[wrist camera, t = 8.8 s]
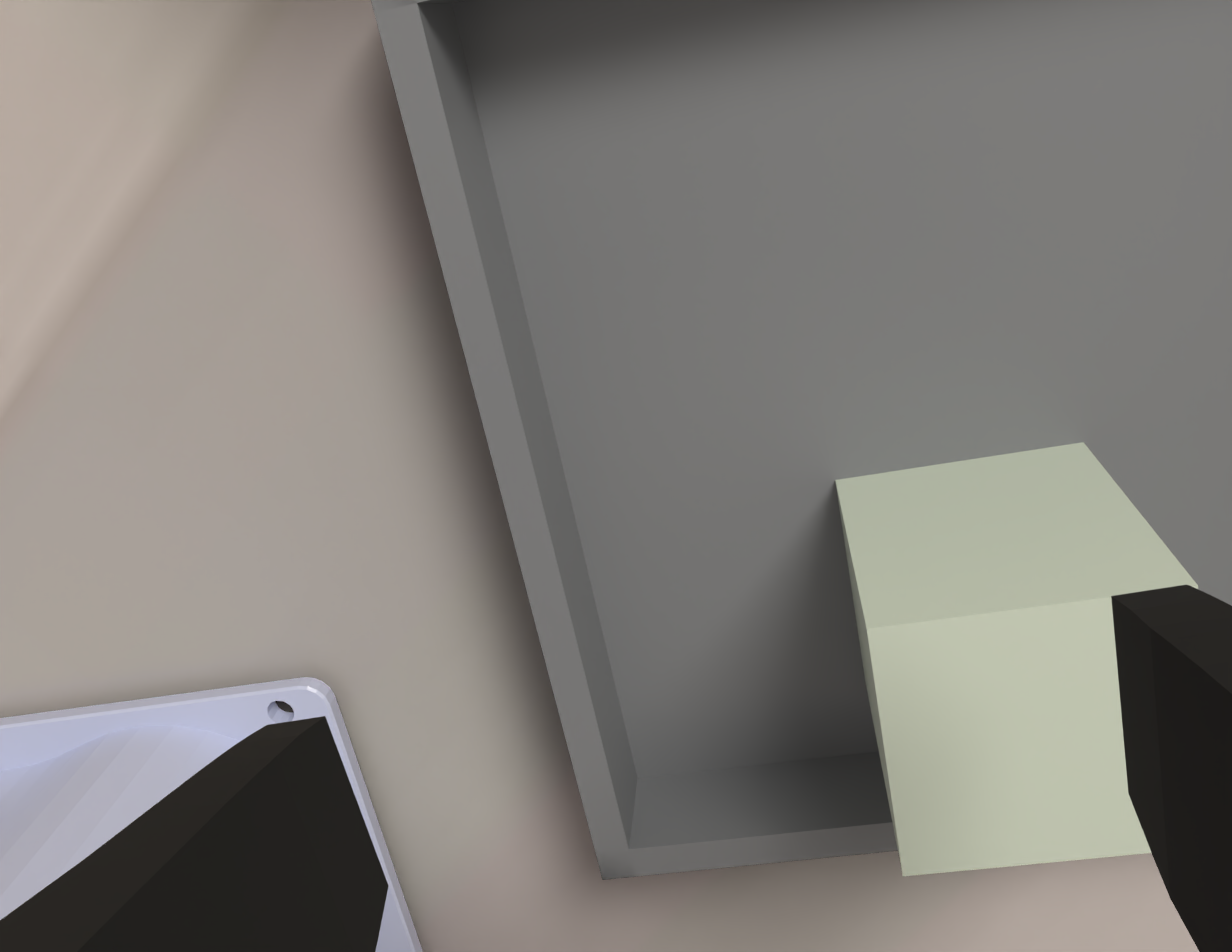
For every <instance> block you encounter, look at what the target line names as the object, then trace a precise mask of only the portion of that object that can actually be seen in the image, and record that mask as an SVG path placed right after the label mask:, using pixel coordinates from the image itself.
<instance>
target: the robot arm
mask: <svg viewBox="0 0 1232 952" xmlns="http://www.w3.org/2000/svg"><path fill="white" fill-rule="evenodd" d="M1111 599H1112V611H1113V622H1114V634H1115V645H1116V657H1117V668H1118V680H1119V691H1120V703H1121V714H1122V726H1123V737H1124V749H1125V760H1126V772H1127V783H1128V794H1129V796H1130V799H1131V801H1132V804H1133V806H1134V809H1135V812H1136V814H1137V817H1138V819H1139V822H1140V824H1141V827H1142V830H1143V832H1144V835H1145V837H1146V840H1147V842H1148V845H1149V847H1150V850H1151V852H1152V855H1153V857H1154V860H1155V862H1156V865H1157V867H1158V869H1159V872H1160V874H1161V877H1162V879H1163V881H1164V884H1165V886H1166V889H1167V891H1168V894H1169V896H1170V898H1171V900H1172V902H1173V904H1174V906H1175V908H1176V909H1177V911H1178V913H1179V915H1180V917H1181V919H1182V921H1183V922H1184V924H1185V926H1186V928H1187V930H1188V931H1189V933H1190V935H1191V937H1192V939H1193V941H1194V942H1195V944H1196V946H1197V948H1198V950H1199V951H1200V952H1232V606H1231V605H1229V604H1227V603H1225V602H1223V601H1221V600H1220V599H1218V598H1216V597H1213V596H1211V595H1209V594H1207V593H1205V592H1203V591H1201V590H1199V589H1196V588H1194V587H1192V586H1190V585H1180V586H1174V587H1167V588H1160V589H1154V590H1147V591H1141V592H1134V593H1128V594H1121V595H1115V596H1111ZM275 701H284V702H285V703H287V704H289V705H290V706H291V708H292V709H293V710H294V712H285V711H283V710H281V709H280V708H279V707H278V706H277V704H276V703H275ZM0 952H423V951H422V948H421V945H420V942H419V939H418V936H417V933H416V930H415V927H414V924H413V922H412V919H411V916H410V913H409V910H408V907H407V904H406V901H405V898H404V895H403V892H402V889H401V887H400V884H399V881H398V878H397V875H396V872H395V869H394V866H393V863H392V860H391V857H390V854H389V852H388V849H387V846H386V843H385V840H384V837H383V834H382V831H381V828H380V825H379V822H378V819H377V817H376V814H375V811H374V808H373V805H372V802H371V799H370V796H369V793H368V790H367V787H366V784H365V782H364V779H363V776H362V773H361V770H360V767H359V764H358V761H357V758H356V755H355V752H354V749H353V747H352V744H351V741H350V738H349V735H348V732H347V729H346V726H345V723H344V720H343V717H342V714H341V712H340V709H339V706H338V703H337V700H336V697H335V695H334V693H333V691H332V690H331V688H330V687H329V686H328V685H326V684H325V683H324V682H323V681H320V680H318V679H315V678H309V677H302V678H294V679H287V680H279V681H272V682H265V683H257V684H250V685H242V686H235V687H227V688H220V689H213V690H205V691H198V692H190V693H183V694H175V695H168V696H161V697H153V698H146V699H138V700H131V701H123V702H116V703H109V704H101V705H94V706H86V707H79V708H71V709H64V710H57V711H49V712H42V713H34V714H27V715H19V716H12V717H5V718H0Z"/></svg>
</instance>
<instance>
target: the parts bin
mask: <svg viewBox="0 0 1232 952" xmlns="http://www.w3.org/2000/svg"><path fill="white" fill-rule="evenodd" d="M371 2H372V6H373V10H374V14H375V17H376V21H377V25H378V29H379V33H380V36H381V40H382V44H383V48H384V52H385V55H386V59H387V63H388V67H389V71H390V74H391V78H392V82H393V86H394V90H395V93H396V97H397V101H398V105H399V109H400V112H401V116H402V120H403V124H404V128H405V131H406V135H407V139H408V143H409V147H410V150H411V154H412V158H413V162H414V165H415V169H416V173H417V177H418V181H419V184H420V188H421V192H422V196H423V200H424V203H425V207H426V211H427V215H428V219H429V222H430V226H431V230H432V234H433V238H434V241H435V245H436V249H437V253H438V257H439V260H440V264H441V268H442V272H443V276H444V279H445V283H446V287H447V291H448V295H449V298H450V302H451V306H452V310H453V314H454V317H455V321H456V325H457V329H458V333H459V336H460V340H461V344H462V348H463V352H464V355H465V359H466V363H467V367H468V371H469V374H470V378H471V382H472V386H473V390H474V393H475V397H476V401H477V405H478V409H479V412H480V416H481V420H482V424H483V428H484V431H485V435H486V439H487V443H488V447H489V450H490V454H491V458H492V462H493V466H494V469H495V473H496V477H497V481H498V485H499V488H500V492H501V496H502V500H503V504H504V507H505V511H506V515H507V519H508V522H509V526H510V530H511V534H512V538H513V541H514V545H515V549H516V553H517V557H518V560H519V564H520V568H521V572H522V576H523V579H524V583H525V587H526V591H527V595H528V598H529V602H530V606H531V610H532V614H533V617H534V621H535V625H536V629H537V633H538V636H539V640H540V644H541V648H542V652H543V655H544V659H545V663H546V667H547V671H548V674H549V678H550V682H551V686H552V690H553V693H554V697H555V701H556V705H557V709H558V712H559V716H560V720H561V724H562V728H563V731H564V735H565V739H566V743H567V747H568V750H569V754H570V758H571V762H572V766H573V769H574V773H575V777H576V781H577V785H578V788H579V792H580V796H581V800H582V804H583V807H584V811H585V815H586V819H587V823H588V826H589V830H590V834H591V838H592V842H593V845H594V849H595V853H596V857H597V861H598V864H599V868H600V872H601V876H602V879H603V880H606V879H616V878H626V877H636V876H646V875H656V874H667V873H677V872H687V871H697V870H707V869H717V868H727V867H737V866H747V865H758V864H768V863H778V862H788V861H798V860H808V859H818V858H828V857H838V856H849V855H859V854H869V853H879V852H889V851H898V848H897V843H896V838H895V833H894V828H893V822H892V817H891V812H890V807H889V802H888V796H887V791H886V786H885V781H884V776H883V771H882V765H881V760H880V755H879V750H878V745H877V739H876V734H875V729H874V724H873V719H872V713H871V708H870V703H869V698H868V693H867V688H866V682H865V676H864V669H863V662H862V655H861V649H860V642H859V635H858V629H857V622H856V615H855V609H854V602H853V595H852V589H851V582H850V575H849V569H848V562H847V555H846V549H845V542H844V535H843V528H842V522H841V515H840V508H839V502H838V495H837V488H836V482H835V480H839V479H846V478H852V477H859V476H865V475H872V474H878V473H885V472H891V471H898V470H905V469H911V468H918V467H924V466H931V465H937V464H944V463H950V462H957V461H964V460H970V459H977V458H983V457H990V456H996V455H1003V454H1009V453H1016V452H1023V451H1029V450H1036V449H1042V448H1049V447H1055V446H1062V445H1068V444H1075V443H1082V442H1084V444H1085V445H1086V446H1087V447H1088V449H1089V450H1090V451H1091V452H1092V454H1093V455H1094V456H1095V457H1096V459H1097V460H1098V461H1099V462H1100V464H1101V465H1102V466H1103V467H1104V469H1105V470H1106V471H1107V472H1108V474H1109V475H1110V476H1111V477H1112V479H1113V480H1114V481H1115V482H1116V484H1117V485H1118V486H1119V487H1120V489H1121V490H1122V491H1123V492H1124V494H1125V495H1126V496H1127V497H1128V499H1129V500H1130V501H1131V502H1132V504H1133V505H1134V506H1135V507H1136V509H1137V510H1138V511H1139V512H1140V514H1141V515H1142V516H1143V517H1144V519H1145V520H1146V521H1147V522H1148V524H1149V525H1150V526H1151V527H1152V529H1153V530H1154V531H1155V532H1156V534H1157V535H1158V536H1159V537H1160V539H1161V540H1162V541H1163V542H1164V544H1165V545H1166V546H1167V547H1168V549H1169V550H1170V551H1171V552H1172V554H1173V555H1174V556H1175V557H1176V559H1177V560H1178V561H1179V562H1180V564H1181V565H1182V566H1183V567H1184V569H1185V570H1186V571H1187V572H1188V574H1189V575H1190V576H1191V577H1192V579H1193V580H1194V581H1195V582H1196V584H1197V585H1198V589H1199V590H1201V591H1203V592H1205V593H1207V594H1209V595H1211V596H1213V597H1216V598H1218V599H1220V600H1221V601H1223V602H1225V603H1227V604H1229V605H1231V606H1232V0H371Z"/></svg>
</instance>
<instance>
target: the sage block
mask: <svg viewBox="0 0 1232 952" xmlns="http://www.w3.org/2000/svg"><path fill="white" fill-rule="evenodd" d="M835 482H836V488H837V495H838V502H839V508H840V515H841V522H842V528H843V535H844V542H845V549H846V555H847V562H848V569H849V575H850V582H851V589H852V595H853V602H854V609H855V615H856V622H857V629H858V635H859V642H860V649H861V655H862V662H863V669H864V676H865V682H866V688H867V693H868V698H869V703H870V708H871V713H872V719H873V724H874V729H875V734H876V739H877V745H878V750H879V755H880V760H881V765H882V771H883V776H884V781H885V786H886V791H887V796H888V802H889V807H890V812H891V817H892V822H893V828H894V833H895V838H896V843H897V848H898V854H899V859H900V864H901V869H902V874H903V877H904V876H914V875H925V874H935V873H946V872H956V871H967V870H977V869H988V868H998V867H1009V866H1019V865H1030V864H1040V863H1051V862H1061V861H1072V860H1082V859H1093V858H1103V857H1114V856H1124V855H1135V854H1145V853H1152V852H1151V850H1150V847H1149V845H1148V842H1147V840H1146V837H1145V835H1144V832H1143V830H1142V827H1141V824H1140V822H1139V819H1138V817H1137V814H1136V812H1135V809H1134V806H1133V804H1132V801H1131V799H1130V796H1129V794H1128V783H1127V772H1126V760H1125V749H1124V737H1123V726H1122V714H1121V703H1120V691H1119V680H1118V668H1117V657H1116V645H1115V634H1114V622H1113V611H1112V599H1111V596H1115V595H1121V594H1128V593H1134V592H1141V591H1147V590H1154V589H1160V588H1167V587H1174V586H1180V585H1190V586H1192V587H1194V588H1196V589H1198V585H1197V584H1196V582H1195V581H1194V580H1193V579H1192V577H1191V576H1190V575H1189V574H1188V572H1187V571H1186V570H1185V569H1184V567H1183V566H1182V565H1181V564H1180V562H1179V561H1178V560H1177V559H1176V557H1175V556H1174V555H1173V554H1172V552H1171V551H1170V550H1169V549H1168V547H1167V546H1166V545H1165V544H1164V542H1163V541H1162V540H1161V539H1160V537H1159V536H1158V535H1157V534H1156V532H1155V531H1154V530H1153V529H1152V527H1151V526H1150V525H1149V524H1148V522H1147V521H1146V520H1145V519H1144V517H1143V516H1142V515H1141V514H1140V512H1139V511H1138V510H1137V509H1136V507H1135V506H1134V505H1133V504H1132V502H1131V501H1130V500H1129V499H1128V497H1127V496H1126V495H1125V494H1124V492H1123V491H1122V490H1121V489H1120V487H1119V486H1118V485H1117V484H1116V482H1115V481H1114V480H1113V479H1112V477H1111V476H1110V475H1109V474H1108V472H1107V471H1106V470H1105V469H1104V467H1103V466H1102V465H1101V464H1100V462H1099V461H1098V460H1097V459H1096V457H1095V456H1094V455H1093V454H1092V452H1091V451H1090V450H1089V449H1088V447H1087V446H1086V445H1085V444H1084V442H1082V443H1075V444H1068V445H1062V446H1055V447H1049V448H1042V449H1036V450H1029V451H1023V452H1016V453H1009V454H1003V455H996V456H990V457H983V458H977V459H970V460H964V461H957V462H950V463H944V464H937V465H931V466H924V467H918V468H911V469H905V470H898V471H891V472H885V473H878V474H872V475H865V476H859V477H852V478H846V479H839V480H835Z"/></svg>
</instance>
